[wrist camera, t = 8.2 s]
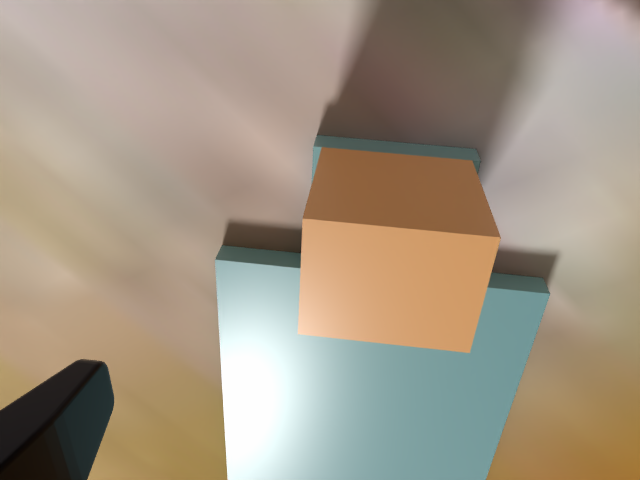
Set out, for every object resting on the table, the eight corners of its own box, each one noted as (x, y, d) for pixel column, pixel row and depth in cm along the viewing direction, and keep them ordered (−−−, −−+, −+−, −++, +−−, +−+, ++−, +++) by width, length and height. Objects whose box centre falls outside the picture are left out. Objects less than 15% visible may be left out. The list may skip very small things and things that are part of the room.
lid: (581, 158, 13) (660, 252, 9) (451, 552, 22) (464, 679, 19) (216, 125, 14) (154, 204, 10) (235, 524, 23) (207, 642, 19)
